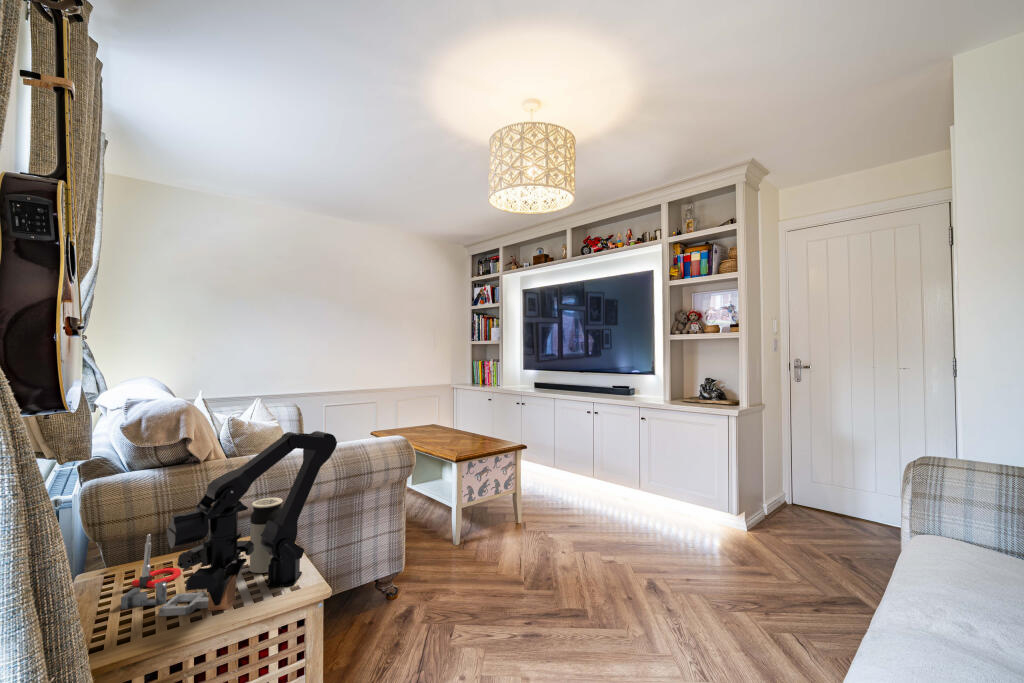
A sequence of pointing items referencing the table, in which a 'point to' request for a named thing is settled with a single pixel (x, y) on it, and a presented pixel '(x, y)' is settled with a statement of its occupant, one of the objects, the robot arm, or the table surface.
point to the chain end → (199, 601)
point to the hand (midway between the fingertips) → (222, 599)
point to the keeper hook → (144, 597)
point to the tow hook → (147, 575)
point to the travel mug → (259, 518)
